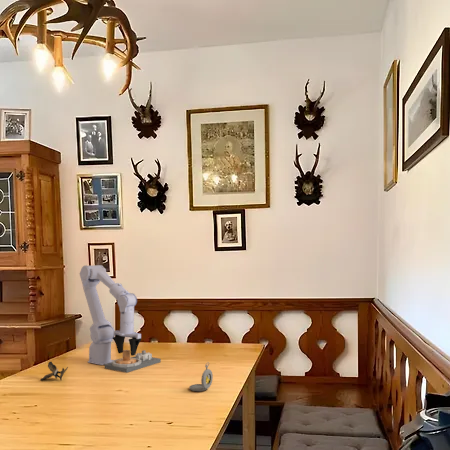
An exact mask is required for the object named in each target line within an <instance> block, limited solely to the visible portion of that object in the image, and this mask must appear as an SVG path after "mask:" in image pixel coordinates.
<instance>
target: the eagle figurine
mask: <svg viewBox="0 0 450 450" xmlns="http://www.w3.org/2000/svg"><path fill="white" fill-rule="evenodd" d="M47 368H48V369H49V371H50V372H51V373H47V374H45V375H44V376H43V377H42V378H40V381H43V380H45V379H50V378H52V377H54V378H55V379H58V378H59V380H60V381H62V379H63V376H64V375H65V373H66V372H67V370H68V368H69V366H67V367H65V368H64V367H62V369H61V371H59V368H57V366H56V365H55V364H54V363H53V362H52V361H49V362H48V364H47ZM59 374H60V375H59Z"/></svg>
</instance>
